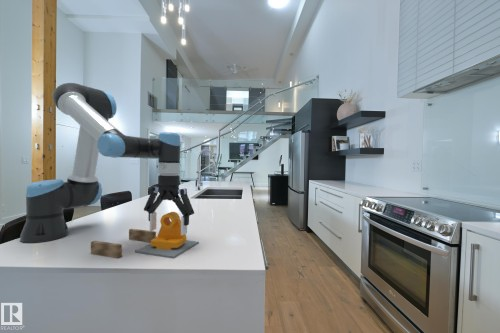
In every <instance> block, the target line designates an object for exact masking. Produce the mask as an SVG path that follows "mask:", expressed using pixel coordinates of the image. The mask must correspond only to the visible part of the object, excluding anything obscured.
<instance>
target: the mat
mask: <svg viewBox="0 0 500 333" xmlns="http://www.w3.org/2000/svg"><path fill="white" fill-rule="evenodd" d="M199 243H200V242H199V241H196V240H188V239H186V242H185V243H184V244H182V245H181V246H180V247H178V248H173V249H171V250H165V249H156V246H151V243H149V244H146V245H144V246H142V247H140V248H138V249H135V250H134V253H137V254H143V255H144V254H145V255H150V256H156V257H163V258H168V259H169V258H170V259H175V258H177V257H178V256H180V255H182V254H184V253H185V252H187V251H188V250H191V249H192V248H194V247H195V246H197V245H199Z"/></svg>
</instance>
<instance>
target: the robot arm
mask: <svg viewBox="0 0 500 333" xmlns="http://www.w3.org/2000/svg"><path fill="white" fill-rule="evenodd" d="M52 102H53V104H54V106H55V107H56V108H57V109H58V110H59V111H60V112H61V113H62V114H65V115H66V116H70V117H71V118H72V119H73V120H74V121H75V122H76V123H77V124H78V125H79V131H78V137H77V138H78V139H77V144H76V149H75V156H74V162H73V167H72V168H73V169H72V173H71V174H70V175H68V176H67V180H66V182H65V181H64V180H63V179H60V178H59V179H58V178H57V179H47V180H46V179H45V180H40V181H34V182H31V183H29V184H28V185H27V186H26V193H25V197H26V198H25V199H26V200H25V204H26V205H25V207H26V208H25V209H26V216H25V217H26V218H25V219H26V221H25V223H24V226H23V229H22V230H21V233H20V236H19V237H20V238H19V240H20V242H21V243H25V244H26V243H27V244H28V243H29V244H31V243H32V244H35V243H43V242H44V243H45V242H50V241H54V240H55V241H56V240H59V239H62V238H64V237H67V236H68V235H69V228H68V225H67V222H66V220H65V217H64V210H66V209H73V208H74V209H75V208H79V207H80V208H81V207H88V206H91V205H95V204H97V203H98V202H99V200H100V199H101V196H102V193H103V187H102V184H101V183H100V181H99V179H98V177H97V176H96V171H97V166H98V161H99V154H100V155H102V156H104V157H109V158H128V159H129V158H134V159H135V158H136V159H146V160H147V159H158V174H159V175H158V176H157V177H158V178H157V184H158V186H151V187H150V188H151V189H150V194H149V197H147V198H148V199H147V201H146V203H145V205H144V208H143V211H144V212H147V213H148V217H147V218H148V222H149V231H155V230H157V212H156V210H157V209H158V208H159V207H160V205H161V204H162V202H163V201H166V200H167V201H170V202H171V201H172V202H173V203H174V204H175V205H176V207H177V208H178V210H179V211H180V213H181V215H182V216H181V217H180V219H181V235H184V234H188V226H189V224H190V216H193V215H194V214H195V210H194V208H193V206H192V204H191V200H190V199H189V198H190V197H189V195H188V192H187V190H188V188H180V187H179V186H180V184H181V183H180V182H181V181H180V179H181V178H180V175H179V174H180V173H181V166H180V165H181V160H180V159H181V157H180V156H181V145H182V144H181V136H180V134H179V133H177V132H168V131H161V132H160V133H158V138H147V137H140V136H139V137H138V136H132V135H125V134H124V133H123V132H121V131H120V130H119V129H118V128H116V126H115V125H113V124H112V123H111V122H110V121H109V120H110V119H112V118H114V117H115V115H116V113H117V102H116V99H115V97H114V96H113V95H112V94H111V93H109V92H107V91H104V90H101V89H97V88H93V87H91V86H87V85H82V84H80V83H75V82H66V83H61V84H59V85H58V86H56V88H55V89H54V91H53V93H52ZM158 193H159V194H158Z"/></svg>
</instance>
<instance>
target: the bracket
mask: <svg viewBox="0 0 500 333" xmlns="http://www.w3.org/2000/svg"><path fill="white" fill-rule="evenodd" d="M159 220H160V221H159V222H160V228H159V230H158V234H157V235H156V238H154V239H152V240H151V242H150V244H151V246H156V249H165V250H171V249H173V248H178V247H180V246H181V245H182V244H184V243H185V242H186V240H187V235H186V234H187V233H186V234H184V235H181V217H180V215H179V213H178V212H176V211H171V212H167V213H165V214H163V215H162V216H161V217H160V219H159Z"/></svg>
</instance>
